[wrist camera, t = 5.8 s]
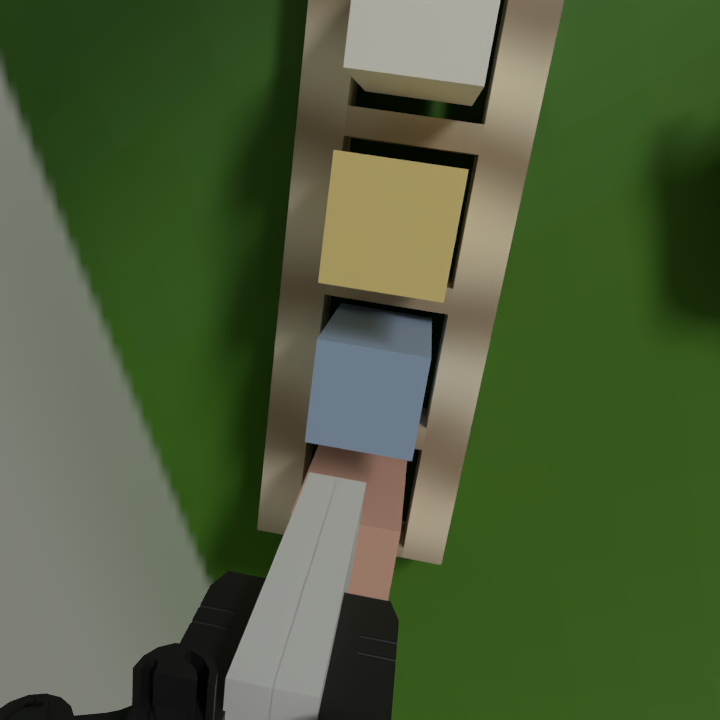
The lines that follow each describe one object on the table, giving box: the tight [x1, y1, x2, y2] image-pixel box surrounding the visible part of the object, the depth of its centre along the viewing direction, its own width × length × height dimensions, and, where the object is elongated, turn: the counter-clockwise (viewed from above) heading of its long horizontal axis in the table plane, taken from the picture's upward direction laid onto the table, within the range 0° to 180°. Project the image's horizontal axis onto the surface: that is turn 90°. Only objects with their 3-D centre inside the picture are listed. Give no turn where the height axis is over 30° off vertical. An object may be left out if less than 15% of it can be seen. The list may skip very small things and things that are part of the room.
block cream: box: [343, 0, 501, 106], centre depth 21 cm, size 4×4×6 cm
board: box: [257, 0, 564, 565], centre depth 29 cm, size 28×10×2 cm, turn 172°
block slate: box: [305, 303, 432, 461], centre depth 27 cm, size 4×4×6 cm
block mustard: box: [318, 150, 469, 303], centre depth 23 cm, size 4×4×6 cm
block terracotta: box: [291, 445, 407, 601], centre depth 28 cm, size 4×4×6 cm
